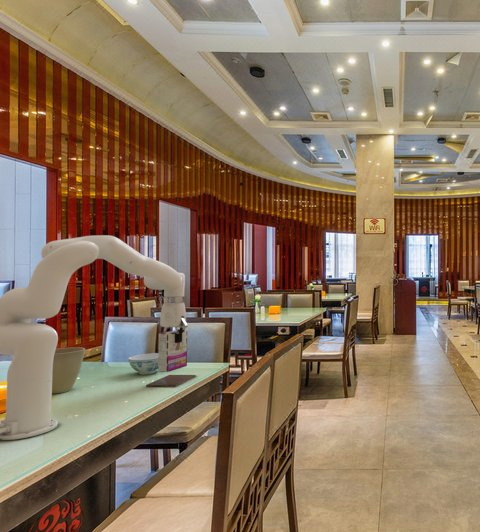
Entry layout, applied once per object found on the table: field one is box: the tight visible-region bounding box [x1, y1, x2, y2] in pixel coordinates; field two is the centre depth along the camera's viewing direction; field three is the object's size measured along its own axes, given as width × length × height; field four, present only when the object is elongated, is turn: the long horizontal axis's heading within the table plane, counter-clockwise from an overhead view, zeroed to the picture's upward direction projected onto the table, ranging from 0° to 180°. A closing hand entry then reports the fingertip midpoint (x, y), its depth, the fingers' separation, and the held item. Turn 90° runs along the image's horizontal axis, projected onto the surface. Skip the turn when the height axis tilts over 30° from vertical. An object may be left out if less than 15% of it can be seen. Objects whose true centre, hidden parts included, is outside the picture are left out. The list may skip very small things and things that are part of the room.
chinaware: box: [128, 352, 158, 376], centre depth 176 cm, size 15×15×8 cm
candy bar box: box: [157, 329, 188, 373], centre depth 162 cm, size 11×5×16 cm, turn 168°
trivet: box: [145, 374, 197, 388], centre depth 162 cm, size 16×12×1 cm
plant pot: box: [52, 347, 86, 395], centre depth 147 cm, size 15×15×16 cm
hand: (173, 341), depth 162 cm, fingers closed on candy bar box, 5 cm apart
